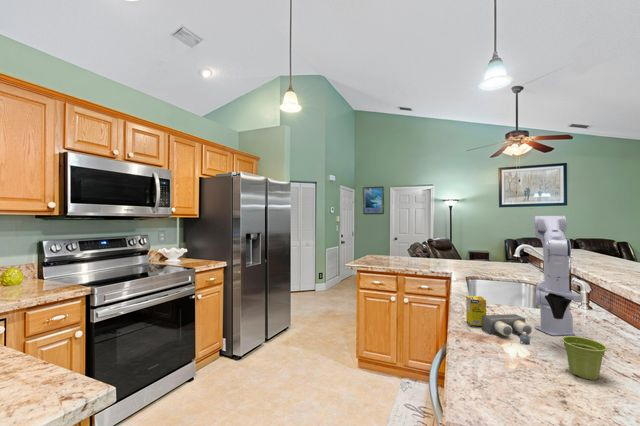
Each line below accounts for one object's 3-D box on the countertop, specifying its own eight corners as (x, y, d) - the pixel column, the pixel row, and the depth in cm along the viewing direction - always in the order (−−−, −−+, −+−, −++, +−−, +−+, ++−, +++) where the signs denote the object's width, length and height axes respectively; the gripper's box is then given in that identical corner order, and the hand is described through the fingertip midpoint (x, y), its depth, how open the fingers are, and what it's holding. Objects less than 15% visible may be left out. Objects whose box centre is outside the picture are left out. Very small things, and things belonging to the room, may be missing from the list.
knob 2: (510, 324, 119) (510, 314, 119) (532, 335, 108) (532, 323, 108) (501, 325, 118) (501, 314, 118) (521, 335, 108) (521, 323, 108)
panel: (515, 328, 118) (515, 313, 118) (525, 332, 113) (525, 318, 113) (481, 329, 117) (481, 315, 117) (490, 334, 112) (490, 319, 112)
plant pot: (595, 368, 86) (595, 338, 86) (615, 386, 77) (615, 352, 78) (556, 363, 89) (556, 334, 90) (571, 380, 81) (570, 347, 81)
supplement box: (486, 328, 118) (486, 300, 118) (470, 327, 119) (470, 299, 119) (481, 322, 124) (481, 296, 124) (466, 322, 125) (465, 295, 125)
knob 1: (492, 325, 118) (492, 314, 118) (512, 336, 108) (512, 324, 108) (483, 325, 118) (483, 315, 118) (502, 336, 107) (502, 324, 107)
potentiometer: (523, 340, 106) (522, 330, 106) (531, 343, 104) (531, 332, 104) (516, 342, 105) (516, 331, 105) (525, 345, 102) (525, 334, 102)
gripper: (528, 272, 105) (529, 311, 105) (566, 281, 91) (567, 327, 90) (547, 272, 106) (547, 311, 106) (588, 280, 91) (588, 326, 91)
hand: (558, 318), depth 98 cm, fingers closed
